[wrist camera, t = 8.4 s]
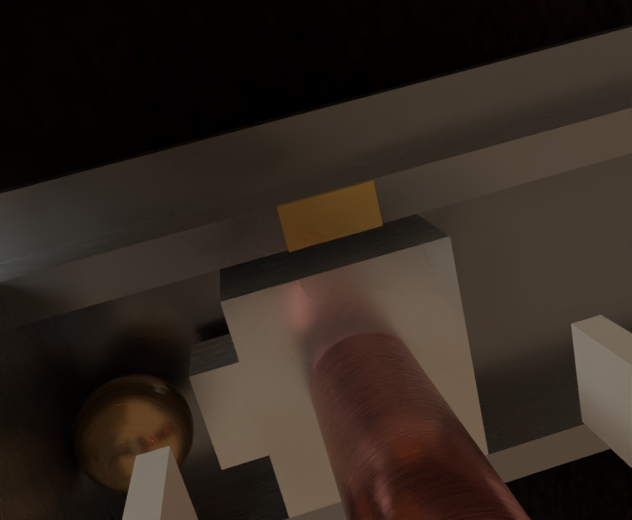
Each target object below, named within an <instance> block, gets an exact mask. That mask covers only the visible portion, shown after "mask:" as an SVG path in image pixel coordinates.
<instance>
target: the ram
mask: <svg viewBox="0 0 632 520" xmlns="http://www.w3.org/2000/svg"><path fill="white" fill-rule="evenodd" d="M382 224H383V226H380V227H376V228H373V229H369V230H366V231H362V232H359V233H355V234H352V235H348V236H344V237H341V238H337V239H334V240H330V241H327V242H323V243H320V244H316V245H313V246H309V247H306V248H302V249H298V250H295V251H291V252H289V251H288V250H286V251H283V252H279V253H276V254H272V255H269V256H265V257H262V258H258V259H255V260H251V261H247V262H244V263H240V264H237V265H233V266H230V267H226V268H223V269H220V303H221V306H222V309H223V312H224V316H225V319H226V322H227V325H228V328H229V331H230V334H227V335H224V336H220V337H217V338H213V339H210V340H206V341H203V342H199V343H196V344H193V345H192V350H191V360H190V370H189V379H190V382H191V384H192V387H193V390H194V393H195V396H196V399H197V401H198V404H199V407H200V410H201V413H202V415H203V418H204V421H205V424H206V427H207V430H208V432H209V435H210V438H211V441H212V444H213V446H214V449H215V452H216V455H217V458H218V461H219V463H220V466H221V469H222V470H223V469H226V468H229V467H233V466H236V465H239V464H242V463H246V462H249V461H252V460H255V459H259V458H262V457H265V456H268V455H269V456H270V459H271V462H272V465H273V469H274V472H275V475H276V478H277V481H278V484H279V487H280V490H281V494H282V497H283V500H284V503H285V506H286V509H287V512H288V515H289V518H291V517H294V516H297V515H301V514H304V513H307V512H310V511H313V510H316V509H319V508H323V507H326V506H329V505H332V504H335V503H338V502H342V506H343V509H344V512H345V516H346V519H347V520H531V519H530V518H529V517H528V515H527V514H526V512H525V511H524V510H523V508H522V507H521V505H520V504H519V503H518V501H517V500H516V498H515V497H514V496H513V494H512V493H511V491H510V490H509V489H508V487H507V486H506V484H505V483H504V482H503V480H502V479H501V477H500V476H499V475H498V473H497V472H496V470H495V469H494V468H493V466H492V465H491V463H490V462H489V461H488V459H487V458H486V455H488V449H487V443H486V438H485V432H484V426H483V421H482V415H481V409H480V404H479V398H478V392H477V387H476V381H475V375H474V370H473V364H472V358H471V353H470V347H469V341H468V336H467V330H466V324H465V319H464V313H463V307H462V302H461V296H460V290H459V285H458V279H457V273H456V268H455V262H454V256H453V251H452V245H451V239H450V236H449V235H447V234H446V233H444V232H443V231H441V230H440V229H438V228H437V227H435V226H434V225H432V224H431V223H429V222H428V221H426V220H425V219H423V218H422V217H420V216H419V215H417V214H414V215H411V216H407V217H403V218H400V219H396V220H393V221H389V222H386V223H382Z"/></svg>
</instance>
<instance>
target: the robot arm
mask: <svg viewBox="0 0 632 520" xmlns="http://www.w3.org/2000/svg"><path fill="white" fill-rule="evenodd" d="M571 328H572V337H573V346H574V355H575V364H576V373H577V381H578V390H579V399H580V408H581V417H582V422H583V423H584V424H585V425H586V426H587V427H589V428H590V429H591V430H592V431H593V432H594V433H595V434H596V435H597V436H598V437H599V438H600V439H601V440H602V441H604V442H605V443H606V444H607V445H608V446H609V447H610V448H611V449H612V450H613V451H614V452H615V453H616V454H617V455H619V456H620V457H621V458H622V459H623V460H624V461H625V462H626V463H627V464H628V465H629V466H630V467H631V468H632V333H630V332H629V331H627V330H625V329H624V328H622V327H620V326H619V325H617V324H616V323H614V322H612V321H611V320H609V319H607V318H606V317H604V316H602V315H598V316H595V317H592V318H588V319H585V320H582V321H579V322H575V323H572V324H571ZM122 520H198V518H197V515H196V513H195V510H194V508H193V505H192V502H191V500H190V497H189V495H188V492H187V489H186V487H185V484H184V481H183V479H182V476H181V474H180V471H179V468H178V466H177V463H176V461H175V458H174V455H173V453H172V450H171V448H170V446H167V447H164V448H160V449H157V450H154V451H151V452H147V453H144V454H141V455H137V456H136V458H135V463H134V467H133V472H132V476H131V481H130V486H129V490H128V495H127V499H126V504H125V509H124V513H123V518H122Z"/></svg>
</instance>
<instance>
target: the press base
mask: <svg viewBox="0 0 632 520" xmlns="http://www.w3.org/2000/svg"><path fill="white" fill-rule="evenodd" d="M414 214H417V215H419V216H420V217H422V218H423V219H425V220H426V221H428V222H429V223H431V224H432V225H434V226H435V227H437V228H438V229H440V230H441V231H443V232H444V233H446V234H447V235H449V236H450V239H451V245H452V251H453V256H454V262H455V268H456V273H457V279H458V285H459V290H460V296H461V302H462V307H463V313H464V319H465V324H466V330H467V336H468V341H469V347H470V353H471V358H472V364H473V370H474V375H475V381H476V387H477V392H478V398H479V404H480V409H481V415H482V421H483V426H484V432H485V438H486V443H487V449H488V455H486V458H487V459H488V461H489V462H490V463H491V465H492V466H493V468H494V469H495V470H496V472H497V473H498V475H499V476H500V477H501V479H502V480H503V482H504V483H505V482H509V481H512V480H515V479H518V478H521V477H524V476H527V475H530V474H533V473H536V472H539V471H543V470H546V469H549V468H552V467H555V466H558V465H561V464H564V463H567V462H570V461H574V460H577V459H580V458H583V457H586V456H589V455H592V454H595V453H598V452H601V451H604V450H608V449H611V448H610V447H609V446H608V445H607V444H606V443H605V442H604V441H602V440H601V439H600V438H599V437H598V436H597V435H596V434H595V433H594V432H593V431H592V430H591V429H590V428H589V427H587V426H586V425H585V424H584V423H583V422H582V417H581V408H580V399H579V390H578V381H577V373H576V364H575V355H574V346H573V337H572V328H571V324H572V323H575V322H579V321H582V320H585V319H588V318H592V317H595V316H598V315H602V316H604V317H606V318H607V319H609V320H611V321H612V322H614V323H616V324H617V325H619V326H620V327H622V328H624V329H625V330H627V331H629V332H630V333H632V24H628V25H624V26H621V27H617V28H613V29H609V30H605V31H602V32H598V33H594V34H590V35H586V36H583V37H579V38H575V39H571V40H567V41H564V42H560V43H556V44H552V45H548V46H545V47H541V48H537V49H533V50H529V51H526V52H522V53H518V54H514V55H511V56H507V57H503V58H499V59H495V60H492V61H488V62H484V63H480V64H476V65H473V66H469V67H465V68H461V69H457V70H454V71H450V72H446V73H442V74H438V75H435V76H431V77H427V78H423V79H419V80H416V81H412V82H408V83H404V84H401V85H397V86H393V87H389V88H385V89H382V90H378V91H374V92H370V93H366V94H363V95H359V96H355V97H351V98H347V99H344V100H340V101H336V102H332V103H328V104H325V105H321V106H317V107H313V108H309V109H306V110H302V111H298V112H294V113H291V114H287V115H283V116H279V117H275V118H272V119H268V120H264V121H260V122H256V123H253V124H249V125H245V126H241V127H237V128H234V129H230V130H226V131H222V132H218V133H215V134H211V135H207V136H203V137H199V138H196V139H192V140H188V141H184V142H181V143H177V144H173V145H169V146H165V147H162V148H158V149H154V150H150V151H146V152H143V153H139V154H135V155H131V156H127V157H124V158H120V159H116V160H112V161H108V162H105V163H101V164H97V165H93V166H89V167H86V168H82V169H78V170H74V171H71V172H67V173H63V174H59V175H55V176H52V177H48V178H44V179H40V180H36V181H33V182H29V183H25V184H21V185H17V186H14V187H10V188H6V189H2V190H0V520H122V518H123V513H124V509H125V504H126V499H127V495H128V490H129V486H130V481H131V476H132V472H133V467H134V463H135V458H136V456H137V455H141V454H144V453H147V452H151V451H154V450H157V449H160V448H164V447H167V446H170V448H171V450H172V453H173V455H174V458H175V461H176V463H177V466H178V468H179V471H180V474H181V476H182V479H183V481H184V484H185V487H186V489H187V492H188V495H189V497H190V500H191V502H192V505H193V508H194V510H195V513H196V515H197V518H198V520H347V519H346V516H345V512H344V509H343V506H342V502H338V503H335V504H332V505H329V506H326V507H323V508H319V509H316V510H313V511H310V512H307V513H304V514H301V515H297V516H294V517H291V518H289V515H288V512H287V509H286V506H285V503H284V500H283V497H282V494H281V490H280V487H279V484H278V481H277V478H276V475H275V472H274V469H273V465H272V462H271V459H270V456H269V455H268V456H265V457H262V458H259V459H255V460H252V461H249V462H246V463H242V464H239V465H236V466H233V467H229V468H226V469H223V470H222V469H221V466H220V463H219V461H218V458H217V455H216V452H215V449H214V446H213V444H212V441H211V438H210V435H209V432H208V430H207V427H206V424H205V421H204V418H203V415H202V413H201V410H200V407H199V404H198V401H197V399H196V396H195V393H194V390H193V387H192V384H191V382H190V379H189V370H190V360H191V350H192V345H193V344H196V343H199V342H203V341H206V340H210V339H213V338H217V337H220V336H224V335H227V334H230V331H229V328H228V325H227V322H226V319H225V316H224V312H223V309H222V306H221V303H220V269H223V268H226V267H230V266H233V265H237V264H240V263H244V262H247V261H251V260H255V259H258V258H262V257H265V256H269V255H272V254H276V253H279V252H283V251H286V250H288V251H289V252H291V251H295V250H298V249H302V248H306V247H309V246H313V245H316V244H320V243H323V242H327V241H330V240H334V239H337V238H341V237H344V236H348V235H352V234H355V233H359V232H362V231H366V230H369V229H373V228H376V227H380V226H383V224H382V223H386V222H389V221H393V220H396V219H400V218H403V217H407V216H411V215H414Z"/></svg>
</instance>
